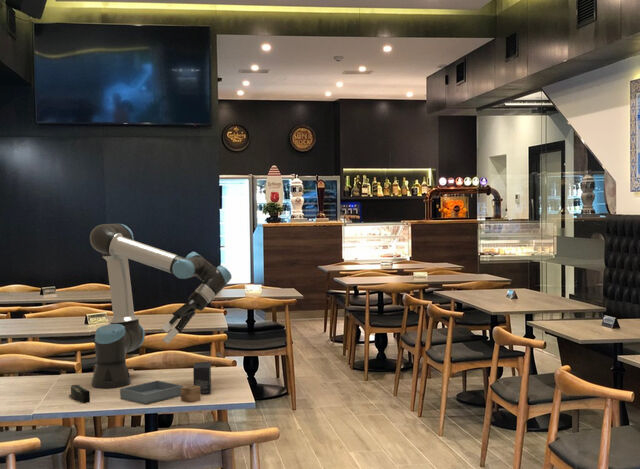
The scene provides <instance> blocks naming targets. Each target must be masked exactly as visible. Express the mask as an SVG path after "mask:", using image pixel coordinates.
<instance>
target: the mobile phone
mask: <svg viewBox="0 0 640 469" xmlns="http://www.w3.org/2000/svg"><path fill="white" fill-rule="evenodd" d="M90 394H91V392H90V390H89V389H86V388H84V387H83V386H81V385H80V384H73V385H71V386H70V394H68V396H69V397H70V396H71V398H73V399H74V398H75V399H74V400H76V399H77V401H78V402H79V401H80V403H81V402H83V403H82V404H87V403H86V402H89V403H90V400H91V398H90V397H91V396H90Z"/></svg>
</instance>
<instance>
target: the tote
mask: <svg viewBox="0 0 640 469" xmlns="http://www.w3.org/2000/svg"><path fill="white" fill-rule="evenodd" d="M181 387H184V385H182V384H178V383H172V382H167V381H162V380H153V381H149V382H145V383H141V384H136V385H131V386H127V387H126V386H125V387H123V388H122V387H121V388H120V389H119V390H120V391H119V393H120V400H125V401H131V402H134V403H139V404H142V405H150V404H153V403H158V402H162V401H165V400H171V399H173V398H177V397H181Z"/></svg>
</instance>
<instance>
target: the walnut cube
mask: <svg viewBox="0 0 640 469" xmlns="http://www.w3.org/2000/svg"><path fill="white" fill-rule="evenodd" d="M201 396H202V395H200V386H195V385H194V384H188V385H183V387H181V396H180V401H181V402H184V403H194V402H198V401H201V400H200V399H201V398H202V397H201Z"/></svg>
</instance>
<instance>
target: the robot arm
mask: <svg viewBox="0 0 640 469" xmlns="http://www.w3.org/2000/svg"><path fill="white" fill-rule="evenodd" d="M89 242H90V245H91V247H92V248H93V249H94V250H95V251H97V252H98V253H101V254H102V259H104V260H105V261H106V263H107V264H106V265H107V272H108V273H107V274H108V275H107V276H108V283H109V291H110V299H111V308H112V316H113V317H112V319H111V320H110V322H109V323H110V324H107V325H105V324H104V325H101V326H99V327H97V328H96V330H95V334H94V335H95V336H94V341H95V343H94V344H95V345H94V346H95V347H94V348H95V369H94V372H93V376H92V379H91V387H93V388H99V389H110V388H120V387H121V388H122V387H126V386H128V385H130V384H131V382H132V381H131V380H132V379H131V375H130V372H129V370H128V366H127V362H126V361H127V360H126V358H127V357H126V356H127V355H126V354H127V353H128V354H129V353H131V352H134V351H136V350H137V349H139V348H140V347H141V346H142V345H143V343H144V341H145V339H146V338H145V337H146V336H145V335H146V333H145V329H144V327H143V326H142V325H141V324H140V321H139V317H138V316H136V315H135V310H134V301H133V299H134V298H133V292H132V284H131V275H130V266H129V260H131V261H135V262H137V263H141V264H143V265H146V266H149V267H153V268H155V269H159V270H160V271H164V272H165V273H166V272H167V273H170V274H173V275H174V276H175V277H176V278H177V279H180V280H181V279H183V280H186V279H189V278H192V277H193V278H194V277H196V278H198V279H199V280H200V281H202V283H201V284H200V285H199V286H198V287H196V289H195V290H194V291H193V292H192V293H191V294H190V296H189V297H187V298H188V300H187V302H185V303H184V304H183V305H182V306H179V308H178V309H177V310H175V311H174V312H172V315H173V316H171V318H170V319H168V321H166V323H165V324H164V325H163V326H162V327H161V330H163V331H164V332H165V333H166V335H165V336H164V337H163V338H162V341H163V342H164V343H166V344H169V343H170V342H171V341H172V340H173V339H174V338H175V337H176V336H177V335H178V334H182V331H183V330H184V329H185V327H186V326H187V324H188V323H189V322H190V321H191V320H192V318H193V317H194V316H195V314H196V310H198V311H202V312H203V310H204V309H205V308H206V307H207V306H208V304H210V303H211V302H212V301H215V297H216V296H217V295H218V294H219V293H220V292H221V291H222V290H223V289H224V288H225V287H226V286H227V284H228V283H229V282H230V281H231V280H232V274H231V272H230V270H228V268H227V267H225V266H223V265H218V266H217V267H216V266H214V265H213V264H212V263H210V262H209V261H207V260H206V258H204V257H203V256H202V255H201V254H198V253H197V252H196V251H191V252H190V253H188V254H187V255H186V257H184V256H180V255H178V254H176V253H172V252H169V251H166V250H163V249H160V248H157V247H154V246H152V245H149V244H145V243H142V242H139V241H136V240H135V239H134V233H133V231H132V229H131V228H130V227H128V226H127V225H125V224H123V223H108V224H107V223H104V224H102V223H101V224H99V225H96V226H95V227H94V228H93V229H92V231H91V232H90V235H89Z"/></svg>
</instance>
